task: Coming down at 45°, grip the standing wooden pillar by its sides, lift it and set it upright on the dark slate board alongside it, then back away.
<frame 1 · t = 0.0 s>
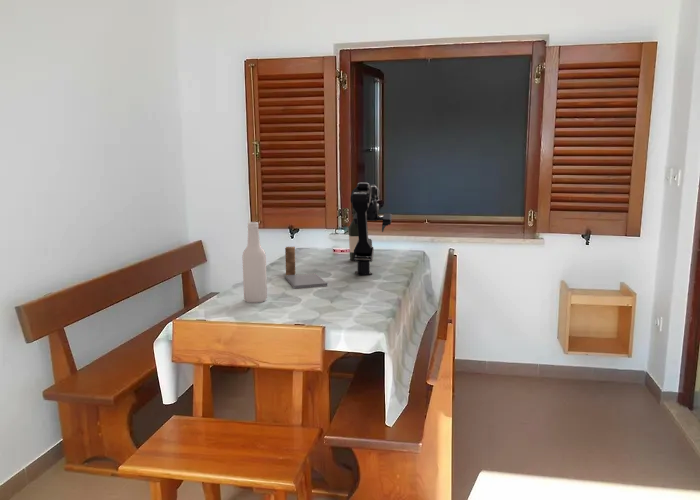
hand: (374, 231, 290), 15 cm above the table, tool tilted 35°, fingers open, 9 cm apart
alcohol: (255, 300, 218), on the table
slate board: (305, 281, 247), on the table
wooden pillar: (290, 274, 262), on the table
wine bottle: (358, 259, 295), on the table, touching gripper
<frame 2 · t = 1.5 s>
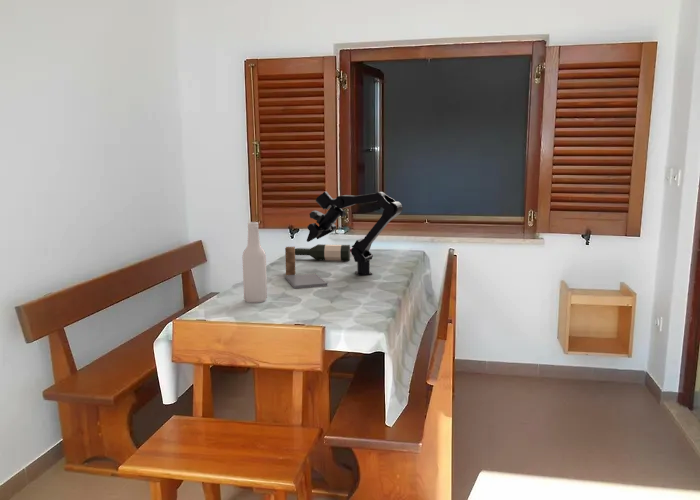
hand: (312, 239, 272), 14 cm above the table, tool tilted 40°, fingers open, 9 cm apart
wine bottle: (349, 252, 293), point 4 cm above the table
everything else where it was.
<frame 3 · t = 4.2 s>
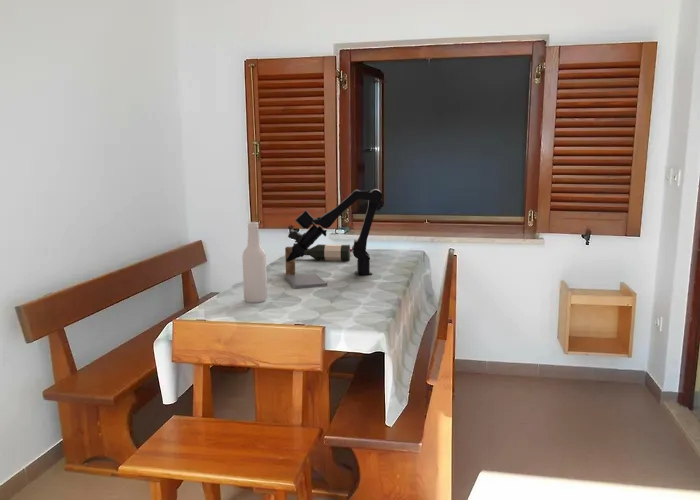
hand: (287, 260, 261), 7 cm above the table, tool tilted 45°, fingers closed on wooden pillar, 4 cm apart
wooden pillar: (290, 274, 262), on the table, touching gripper
everything else where it was.
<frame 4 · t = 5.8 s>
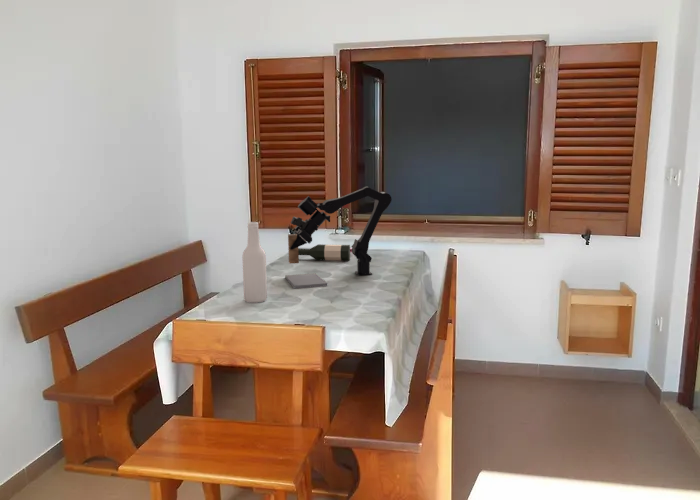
hand: (290, 248, 253), 13 cm above the table, tool tilted 45°, fingers closed on wooden pillar, 4 cm apart
wooden pillar: (293, 262, 255), point 7 cm above the table, touching gripper
everything else where it was.
when the fingers open (9 cm above the table, at t = 7.5 s): wooden pillar drops 1 cm, resting on slate board.
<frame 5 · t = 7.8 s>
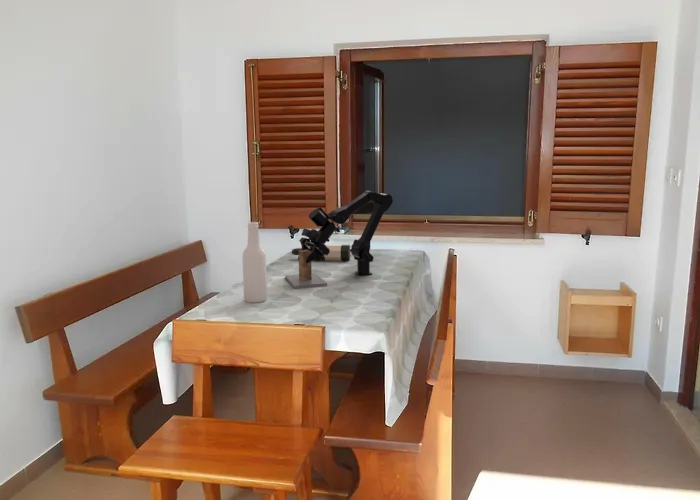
hand: (302, 261, 245), 9 cm above the table, tool tilted 45°, fingers open, 7 cm apart
wooden pillar: (305, 279, 247), point 1 cm above the table, touching slate board
everything else where it was.
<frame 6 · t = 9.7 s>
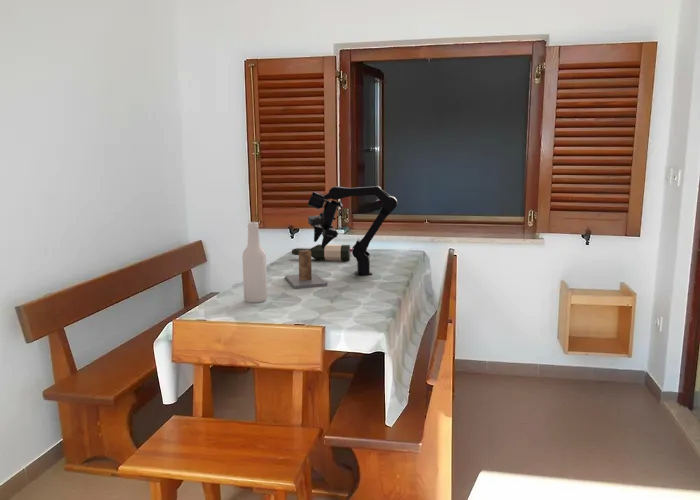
hand: (318, 244, 262), 13 cm above the table, tool tilted 20°, fingers open, 9 cm apart
nothing on the table moved.
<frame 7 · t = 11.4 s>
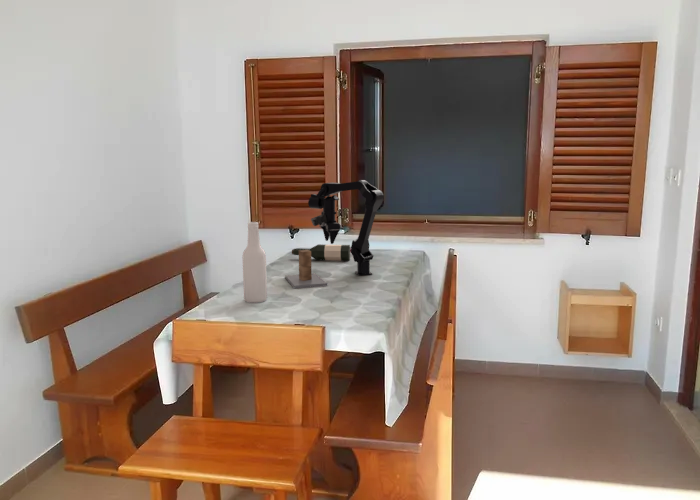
hand: (329, 242, 271), 13 cm above the table, tool pointing down, fingers open, 9 cm apart
nothing on the table moved.
at the end: wooden pillar inside the target area on the slate board (0.1 cm from its centre), point 1.2 cm above the slate board's base; wooden pillar tilted 0°; the gripper is holding nothing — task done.
